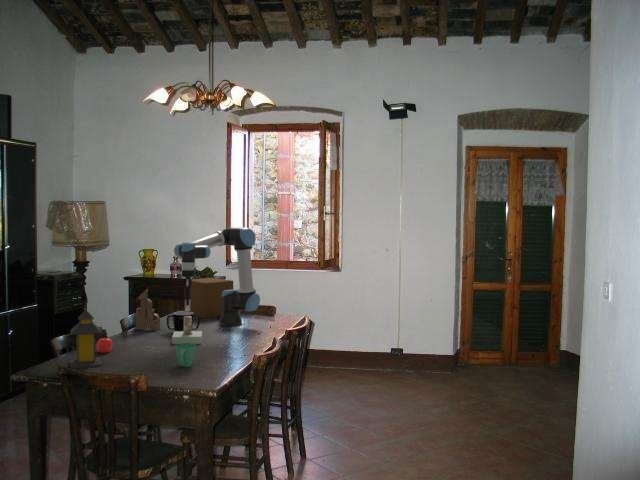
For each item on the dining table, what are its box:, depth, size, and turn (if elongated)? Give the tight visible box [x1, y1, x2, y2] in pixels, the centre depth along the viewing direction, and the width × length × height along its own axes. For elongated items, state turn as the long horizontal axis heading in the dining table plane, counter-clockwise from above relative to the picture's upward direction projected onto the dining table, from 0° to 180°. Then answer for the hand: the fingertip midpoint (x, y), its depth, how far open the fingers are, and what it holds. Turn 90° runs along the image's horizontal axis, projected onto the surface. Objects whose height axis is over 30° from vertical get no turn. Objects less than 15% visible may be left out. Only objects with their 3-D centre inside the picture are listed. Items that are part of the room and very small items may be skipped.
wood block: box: [184, 277, 234, 320], centre depth 435 cm, size 25×25×25 cm
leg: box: [184, 316, 193, 335], centre depth 345 cm, size 4×4×14 cm
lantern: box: [69, 301, 103, 369], centre depth 289 cm, size 14×14×30 cm
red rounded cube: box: [96, 336, 114, 354], centre depth 315 cm, size 8×8×8 cm
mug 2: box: [174, 343, 197, 368], centre depth 287 cm, size 15×10×10 cm
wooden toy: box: [134, 289, 161, 332], centre depth 377 cm, size 15×7×25 cm, turn 81°
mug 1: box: [166, 311, 201, 331], centre depth 369 cm, size 16×16×12 cm
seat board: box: [171, 330, 203, 345], centre depth 345 cm, size 16×16×4 cm
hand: (187, 310), depth 344 cm, fingers closed
